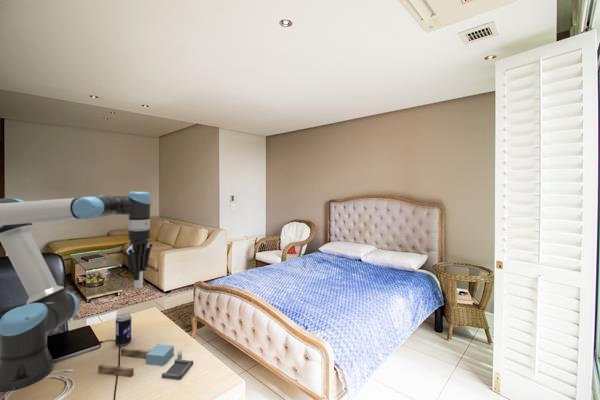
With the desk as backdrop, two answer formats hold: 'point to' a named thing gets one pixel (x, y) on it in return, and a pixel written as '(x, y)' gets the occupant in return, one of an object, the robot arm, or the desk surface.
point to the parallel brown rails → (123, 370)
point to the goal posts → (179, 353)
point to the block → (159, 355)
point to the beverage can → (123, 329)
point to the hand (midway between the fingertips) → (138, 287)
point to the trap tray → (178, 369)
